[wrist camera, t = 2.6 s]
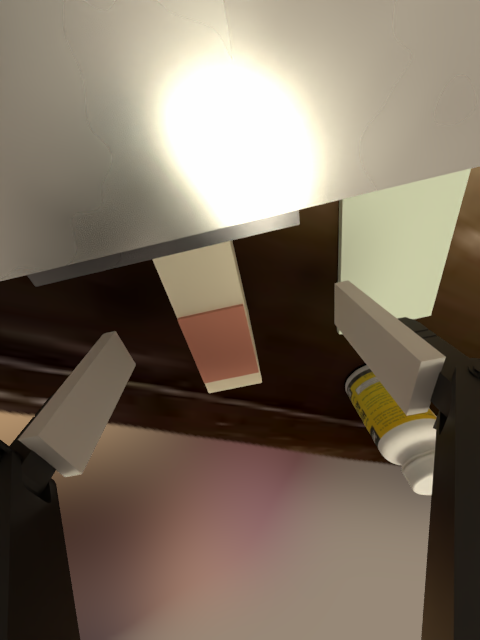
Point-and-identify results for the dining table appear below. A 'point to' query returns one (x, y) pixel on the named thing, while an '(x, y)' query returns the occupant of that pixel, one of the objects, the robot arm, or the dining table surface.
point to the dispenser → (217, 119)
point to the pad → (400, 242)
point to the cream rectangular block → (212, 314)
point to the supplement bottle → (395, 429)
